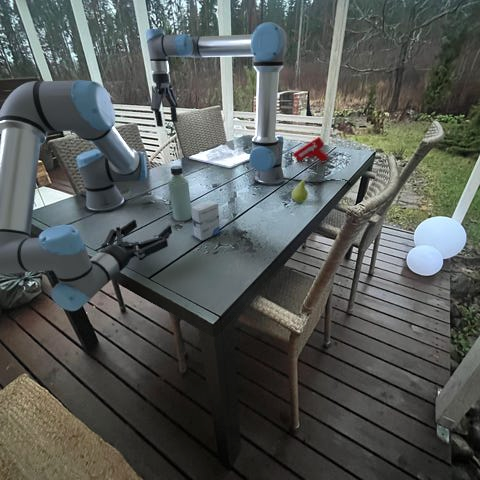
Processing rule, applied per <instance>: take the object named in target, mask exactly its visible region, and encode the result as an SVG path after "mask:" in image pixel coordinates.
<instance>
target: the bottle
mask: <svg viewBox="0 0 480 480" xmlns="http://www.w3.org/2000/svg"><path fill="white" fill-rule="evenodd" d="M167 186H168V193H169V197H170V204H171V205H170V206H171V210H172V217H173V220H175V221H178V222H185V221H189V220H191V219H192V211H191V207H192V203H191V202H192V201H191V193H190V185H189V180H188V179H187V178H186V177H185V176H184V175H183V174H180V175H172V176H171V177H170V179H169V180H168V183H167Z"/></svg>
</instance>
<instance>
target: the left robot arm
mask: <svg viewBox="0 0 480 480" xmlns="http://www.w3.org/2000/svg"><path fill="white" fill-rule="evenodd" d="M115 124H116V112H115V108H114V104H113V102H112V99H111V97H110V95H109V93H108V91H107V89H105V87H103V86H102V84H100V83H98V82H97V81H93V80H84V79H78V80H77V79H76V80H45V81H44V80H43V81H41V80H32V81H28V82H25V83H23V84H21V85H20V86H18V87H16V88H15V89H14V90H13V91H12V92H11V93H10V94H9V95H8V96H7V98H5V101H4V102H3V103H2V106H1V108H0V276H4V275H12V274H21V273H37V272H51V271H52V272H54V274H55V277H56V278H57V281H58V283H56V284H55V286H54V287H52V288H51V290H50V297H51V298H52V300H53V301H54V303H56V305H58V306H59V307H60V308H62V309H64V310H66V311H69V312H75V311H78V310H79V309H81V308H82V307H83V306H84V305H86V304H87V303H88V302H90V301H91V300H92V299H93V298H94V296H95V295H97V293H98V292H100V291H101V290H102V289H103V288H104V287H105V286H106V285H107V284H109V282H110V281H112V280H113V279H114V278H115V277H116V276H117V275H118V274H119V273H120V272H122V271H123V270H124V269H125V268H126V267H127V266H128V265H129V263H130V261H131V259H133V258H138V260H139V261H143V260H144V259H145V258H146V257H149V256H151V255H153V254H155V253H157V252H159V251H161V250H164V249H166V248H167V247H168V246H169V245H168V239H169V238H170V236H171V235H172V234H173V230H172V225H171V224H168V225H167V226H166V227H165V228H164V229H163V230H162V231H161V232H159V234H157V236H158V237H154V238H150V239H146V240H144V241H134V242H129V241H127V240H125V241H123V240H124V239H123V237H126V236H128V235H129V234H130V233H131V232H132V231H134V230H136V229H137V227H138V225H137V224H138V223H137V220H136V219H132V220H131V221H129V222H128V223H126V225H123V226H122V227H120V226H117V227H115V229H114V228H113V229H110V231H109V233H108V234H107V237H106V238H105V241H104V242H103V243H102V244H100V248H101V251H99V252H98V253H96V254H94V256H92V257H91V258H90V255H89V253H88V250H87V247H86V243H85V241H84V240H83V238H82V236H81V234H80V231H79V229H78V228H77V227H75V226H73V225H71V224H59V225H56V226H51V227H48V228H46V229H44V230H43V231H41V233H40V234H39V236H38V237H31V234H32V227H33V226H32V225H33V217H34V215H33V214H34V206H35V198H36V197H35V196H36V188H37V187H36V186H37V179H38V169H39V160H40V151H41V145H44V144H45V143H46V141H47V134H49V133H51V132H73V133H74V134H75V135H76V136H77V137H78V138H80V139H81V140H83V141H87V142H90V143H91V144H92V145H93V146H94V147H95V148H96V149H91V150H87V151H85V152H82V153H80V154H78V155H77V157H76V165H77V169H78V170H79V174H80V176H81V180H82V183H83V185H84V188H85V191H86V192H81V193H80V195H82V196H84V197H85V198H86V201H85V205H86V209H87V211H90V212H92V213H105V212H112V211H114V210H117V209H119V208H121V207H122V206H123V205H124V204H125V198H124V196H123V195H122V194H121V192H120V190H119V189H118V187H117V185H116V183H127V182H143V181H146V180H147V178H148V166H147V164H148V163H147V157H146V154H145V152H143V151H136V149H134V148H133V147H132V146H129V145H128V144H127V143H126V141H125V140H124V139H123V138H122V136H121V135H120V133H119V131H118V130H117V129H116V128H115ZM115 240H116V243H115ZM114 243H115V244H114Z"/></svg>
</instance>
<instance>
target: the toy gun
mask: <svg viewBox="0 0 480 480" xmlns="http://www.w3.org/2000/svg"><path fill="white" fill-rule="evenodd" d="M324 145H325V143H324V141H323V140H322V138H321V137H320V136H317V137H316V138H314V139H313V140H311V141H310V142H308V143H306V144H305V145H303V146H302V147H301V148H299V149H298V150H296V151H295V152H294V153H293V156H294V158H295V160H296V162H301V161H302V160H304V159H306V158H309V160H310V159H314V158H317V159H318V160H319V161H321V162H320V163H321V164H324V162H322V161H325V160H326V162H328V158H329V155H328V154H327V153H325V152H324V151H323V150H322V148H323V147H324Z"/></svg>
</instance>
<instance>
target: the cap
mask: <svg viewBox="0 0 480 480" xmlns="http://www.w3.org/2000/svg"><path fill="white" fill-rule="evenodd" d="M170 174H171V175H172V176H173V175H180V174H181V175H183V166H181V165H173V166H171V167H170Z"/></svg>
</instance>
